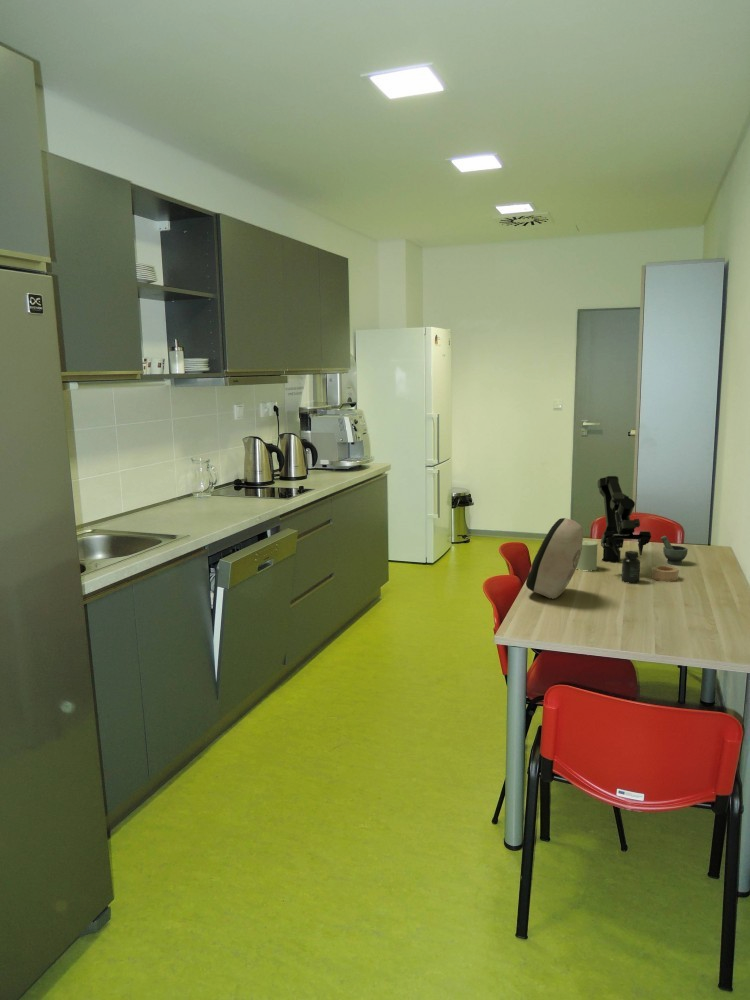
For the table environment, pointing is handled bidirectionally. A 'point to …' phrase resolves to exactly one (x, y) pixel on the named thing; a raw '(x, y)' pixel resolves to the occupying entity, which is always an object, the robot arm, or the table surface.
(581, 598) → the table surface
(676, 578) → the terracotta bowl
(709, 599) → the table surface
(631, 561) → the supplement bottle
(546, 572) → the grey rounded piece
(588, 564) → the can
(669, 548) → the mortar and pestle
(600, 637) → the table surface
